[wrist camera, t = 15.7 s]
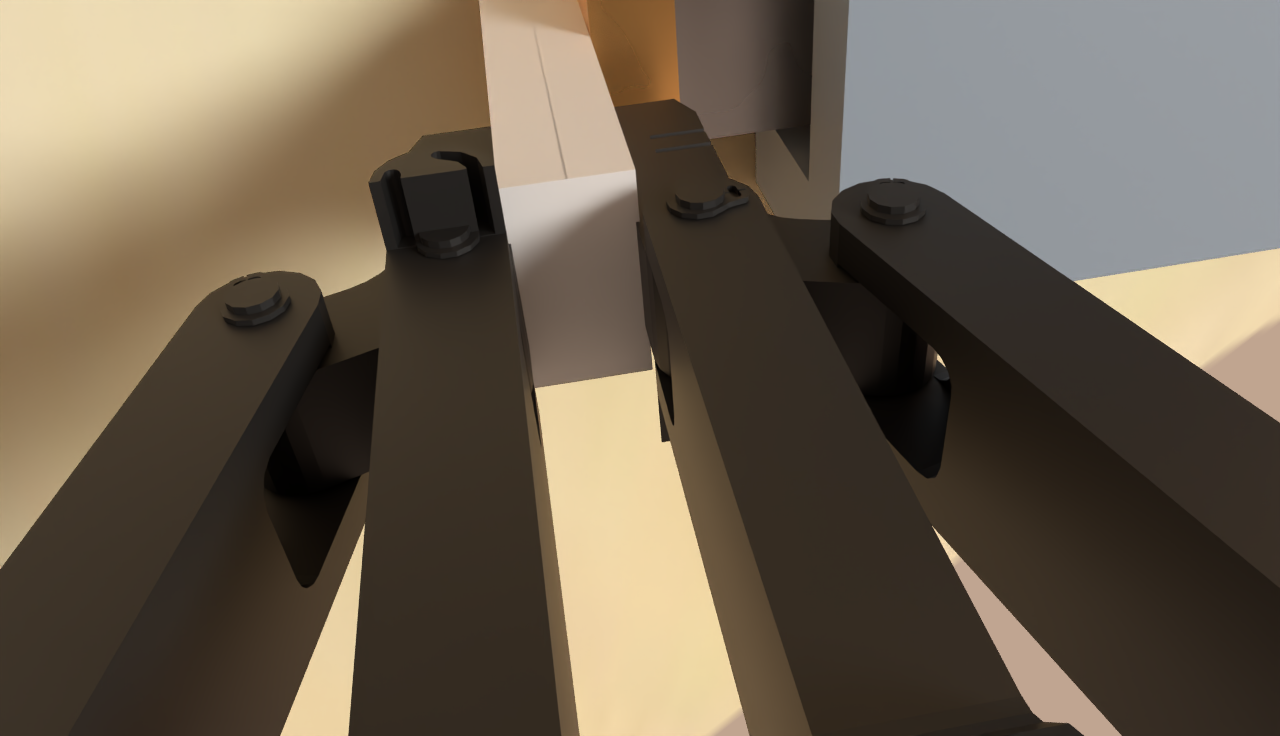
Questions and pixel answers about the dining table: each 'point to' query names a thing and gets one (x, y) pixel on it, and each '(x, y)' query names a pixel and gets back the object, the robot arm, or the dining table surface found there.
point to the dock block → (1050, 122)
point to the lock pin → (709, 58)
